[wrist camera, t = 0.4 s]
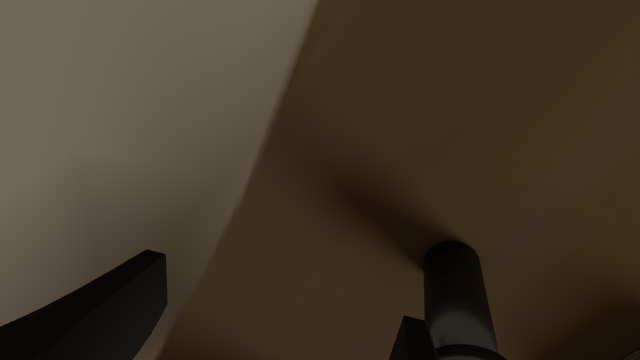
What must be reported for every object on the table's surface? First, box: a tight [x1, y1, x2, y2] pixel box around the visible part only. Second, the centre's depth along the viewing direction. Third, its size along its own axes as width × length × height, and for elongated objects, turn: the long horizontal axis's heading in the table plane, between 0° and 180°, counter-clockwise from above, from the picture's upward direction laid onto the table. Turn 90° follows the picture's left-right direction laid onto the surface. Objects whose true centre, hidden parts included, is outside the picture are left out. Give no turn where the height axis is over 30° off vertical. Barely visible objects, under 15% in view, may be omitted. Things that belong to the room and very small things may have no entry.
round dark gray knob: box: [423, 241, 507, 360], centre depth 19 cm, size 4×4×8 cm
